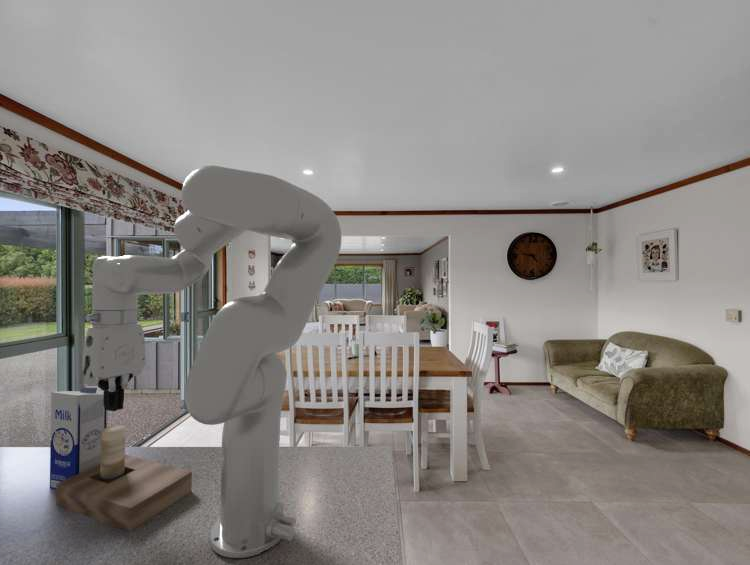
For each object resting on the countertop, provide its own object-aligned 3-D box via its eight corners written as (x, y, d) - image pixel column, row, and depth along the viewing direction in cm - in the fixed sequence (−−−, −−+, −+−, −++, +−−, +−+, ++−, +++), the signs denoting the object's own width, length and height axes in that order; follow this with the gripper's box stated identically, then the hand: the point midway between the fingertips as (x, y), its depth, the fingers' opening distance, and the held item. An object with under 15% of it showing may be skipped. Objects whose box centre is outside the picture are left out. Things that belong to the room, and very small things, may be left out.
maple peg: (129, 485, 75) (130, 427, 75) (108, 496, 71) (110, 434, 71) (115, 481, 77) (116, 423, 77) (94, 491, 73) (95, 431, 73)
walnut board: (191, 491, 75) (191, 472, 75) (129, 531, 63) (130, 508, 63) (123, 471, 82) (123, 454, 82) (55, 504, 70) (56, 483, 70)
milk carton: (48, 488, 76) (50, 391, 75) (82, 471, 82) (83, 382, 82) (75, 493, 74) (77, 394, 74) (107, 476, 80) (108, 385, 80)
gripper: (87, 323, 66) (85, 425, 66) (162, 316, 80) (160, 400, 80) (60, 320, 68) (59, 419, 68) (137, 314, 82) (135, 396, 82)
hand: (113, 409), depth 74 cm, fingers closed
